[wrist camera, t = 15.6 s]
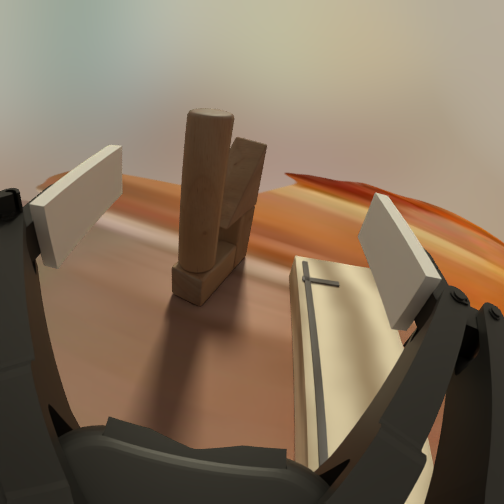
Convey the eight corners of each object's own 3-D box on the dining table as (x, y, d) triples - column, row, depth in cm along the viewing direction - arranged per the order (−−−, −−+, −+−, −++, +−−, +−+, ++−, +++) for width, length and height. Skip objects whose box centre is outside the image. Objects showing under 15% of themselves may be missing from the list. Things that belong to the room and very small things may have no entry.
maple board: (292, 561, 11) (308, 564, 9) (289, 276, 35) (295, 254, 34) (417, 537, 11) (443, 531, 9) (365, 287, 36) (375, 267, 34)
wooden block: (246, 256, 37) (274, 108, 27) (200, 309, 29) (220, 118, 19) (220, 245, 38) (241, 101, 28) (170, 294, 30) (176, 110, 20)
